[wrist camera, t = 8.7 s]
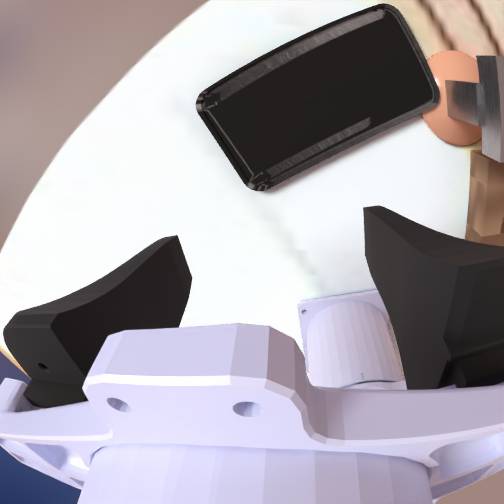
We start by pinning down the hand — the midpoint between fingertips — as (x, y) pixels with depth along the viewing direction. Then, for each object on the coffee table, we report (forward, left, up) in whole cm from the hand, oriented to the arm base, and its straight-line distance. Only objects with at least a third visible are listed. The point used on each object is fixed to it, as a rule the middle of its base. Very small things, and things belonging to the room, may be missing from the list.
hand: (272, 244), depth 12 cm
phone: (+5, -4, -11) cm, 13 cm away
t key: (+4, -14, -10) cm, 18 cm away
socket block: (-4, -19, -10) cm, 22 cm away
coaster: (+4, -14, -10) cm, 18 cm away
